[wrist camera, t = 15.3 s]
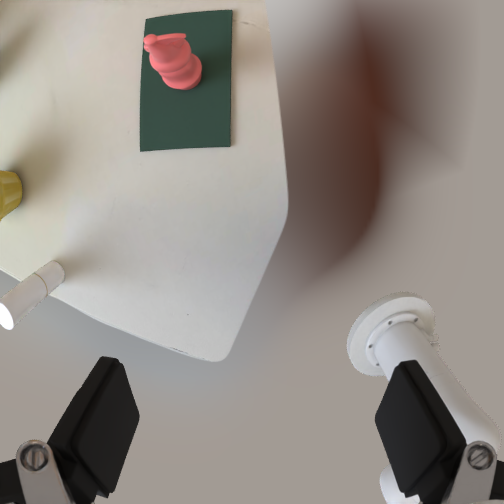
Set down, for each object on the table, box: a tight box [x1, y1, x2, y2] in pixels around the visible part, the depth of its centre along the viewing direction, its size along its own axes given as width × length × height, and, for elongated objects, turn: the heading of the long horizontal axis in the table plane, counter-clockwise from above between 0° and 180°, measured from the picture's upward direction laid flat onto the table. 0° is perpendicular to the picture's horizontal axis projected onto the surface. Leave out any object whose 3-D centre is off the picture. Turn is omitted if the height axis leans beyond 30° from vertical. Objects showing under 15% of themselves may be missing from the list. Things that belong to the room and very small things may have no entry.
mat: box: [140, 10, 232, 151], centre depth 32 cm, size 12×20×1 cm, turn 0°
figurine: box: [144, 33, 202, 90], centre depth 25 cm, size 5×5×15 cm
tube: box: [0, 261, 65, 330], centre depth 35 cm, size 4×4×15 cm
